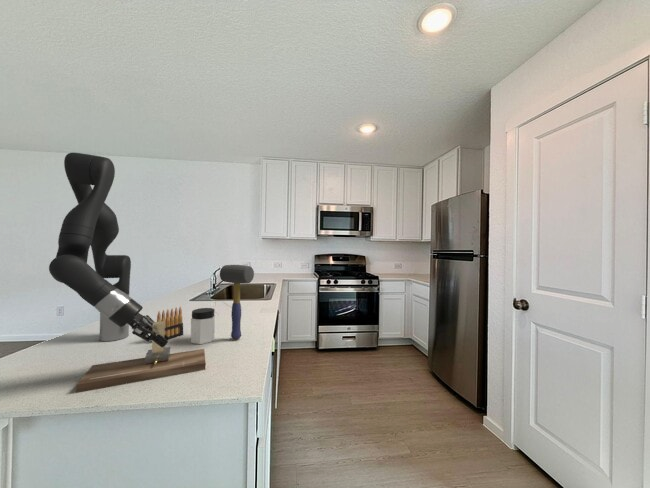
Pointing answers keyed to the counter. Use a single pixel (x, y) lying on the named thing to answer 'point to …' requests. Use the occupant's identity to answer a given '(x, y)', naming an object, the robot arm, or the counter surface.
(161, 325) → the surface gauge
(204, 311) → the jar
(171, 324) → the ammunition clip
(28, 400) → the counter surface
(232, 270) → the rubber mallet
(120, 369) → the walnut board
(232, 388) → the counter surface
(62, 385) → the counter surface
